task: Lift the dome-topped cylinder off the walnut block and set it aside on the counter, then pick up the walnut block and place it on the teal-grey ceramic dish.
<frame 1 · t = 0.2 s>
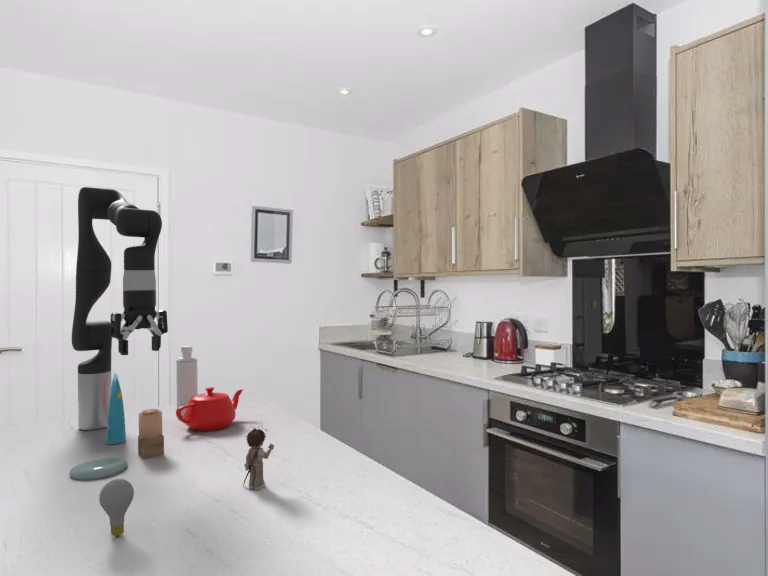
hand: (140, 352, 129), 27 cm above the countertop, fingers open, 8 cm apart
tube: (116, 442, 146), on the countertop
block: (151, 454, 135), on the countertop, touching dome-topped cylinder
dish: (99, 470, 123), on the countertop
white bottle: (187, 415, 176), on the countertop
light bulb: (117, 537, 91), on the countertop
teapot: (212, 426, 162), on the countertop
toy: (256, 487, 113), on the countertop
dome-topped cylinder: (150, 435, 135), point 5 cm above the countertop, touching block
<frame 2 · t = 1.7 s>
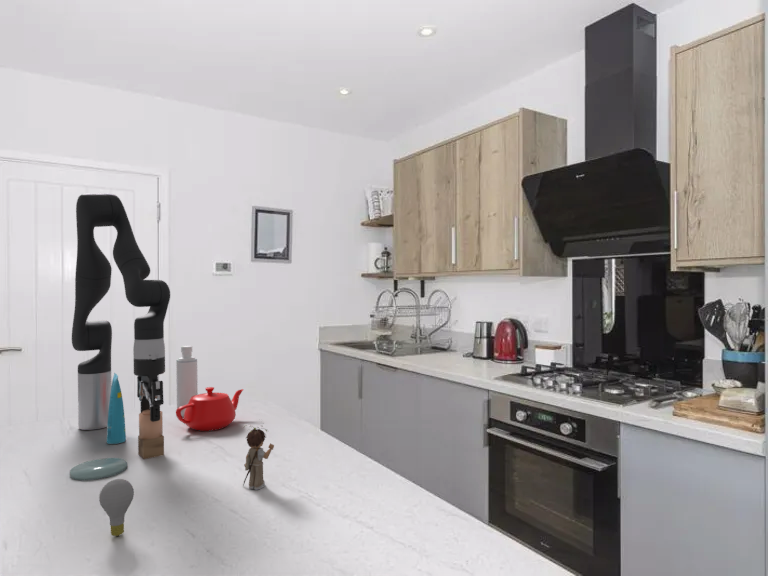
hand: (150, 417, 134), 10 cm above the countertop, fingers open, 8 cm apart
nothing on the countertop moved.
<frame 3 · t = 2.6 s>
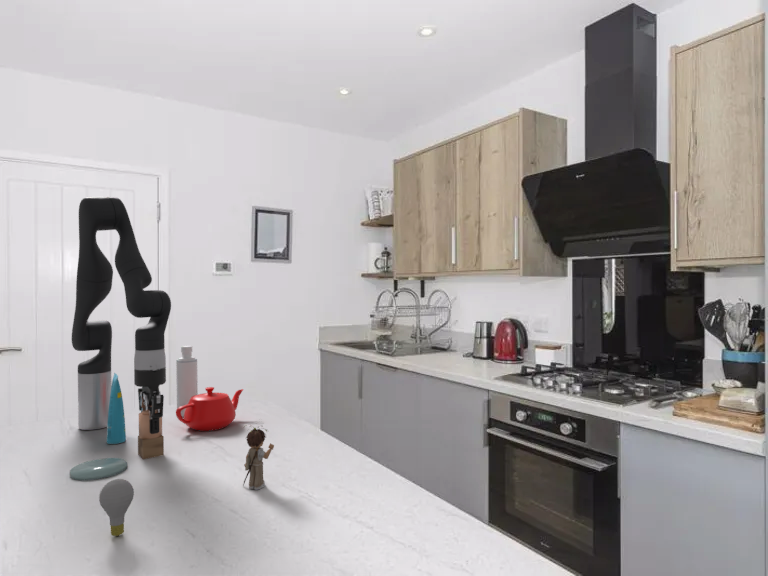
hand: (150, 430, 135), 6 cm above the countertop, fingers closed on dome-topped cylinder, 5 cm apart
block: (150, 455, 135), on the countertop
dome-topped cylinder: (150, 435, 135), point 5 cm above the countertop, touching gripper
everything else where it was.
when the fingers open (3 cm above the countertop, at t = 8.1 s): dome-topped cylinder drops 2 cm, on the countertop.
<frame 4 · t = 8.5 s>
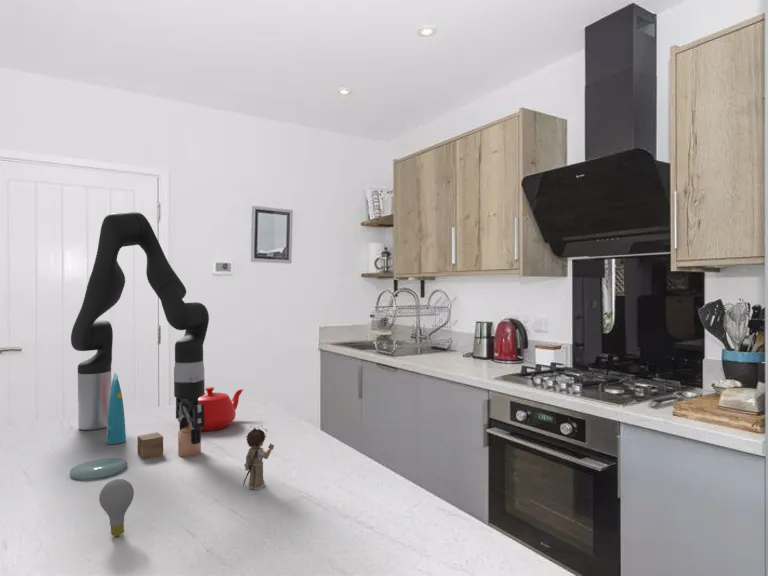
hand: (189, 439, 135), 4 cm above the countertop, fingers open, 8 cm apart
dome-topped cylinder: (189, 453, 135), on the countertop
everything else where it was.
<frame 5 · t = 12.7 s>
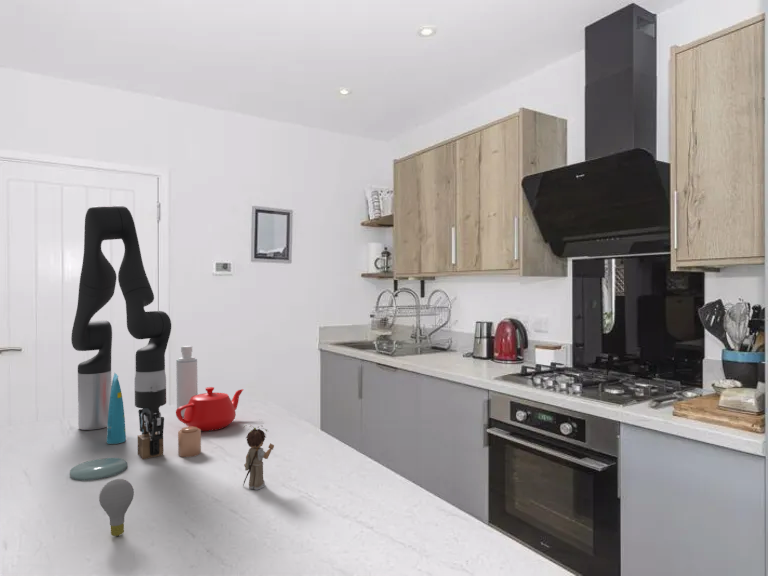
hand: (151, 451, 135), 1 cm above the countertop, fingers closed on block, 5 cm apart
block: (150, 454, 135), on the countertop, touching gripper
everything else where it was.
when the fingers open (3 cm above the countertop, at t = 17.5 s): block stays where it is, resting on dish.
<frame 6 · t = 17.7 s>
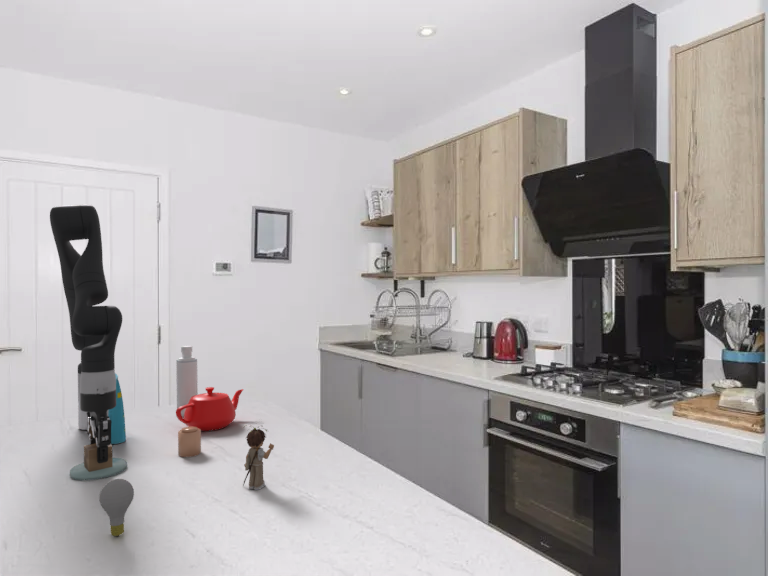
hand: (99, 458, 123), 3 cm above the countertop, fingers open, 6 cm apart
block: (98, 466, 123), point 1 cm above the countertop, touching dish
everything else where it was.
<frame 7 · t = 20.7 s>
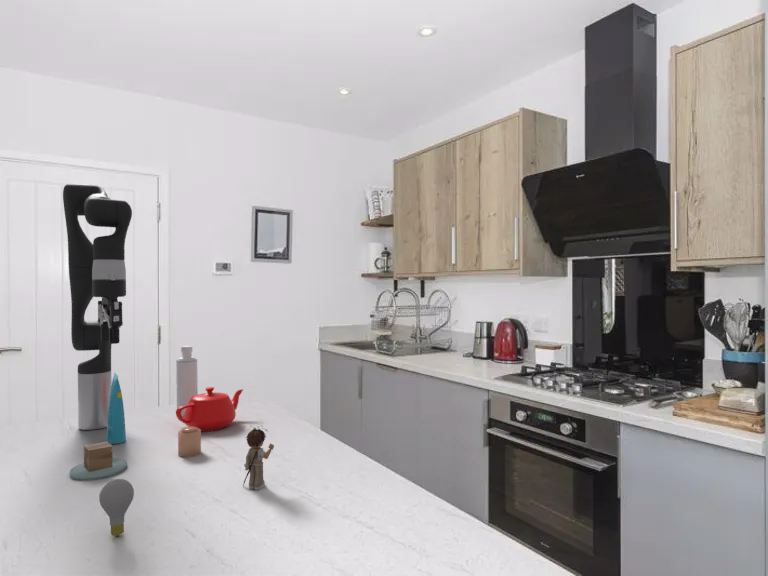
hand: (110, 342, 130), 30 cm above the countertop, fingers open, 8 cm apart
nothing on the countertop moved.
at the end: block inside the target area on the dish (0.2 cm from its centre), point 1.0 cm above the dish's base; dome-topped cylinder touching countertop; the gripper is holding nothing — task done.
